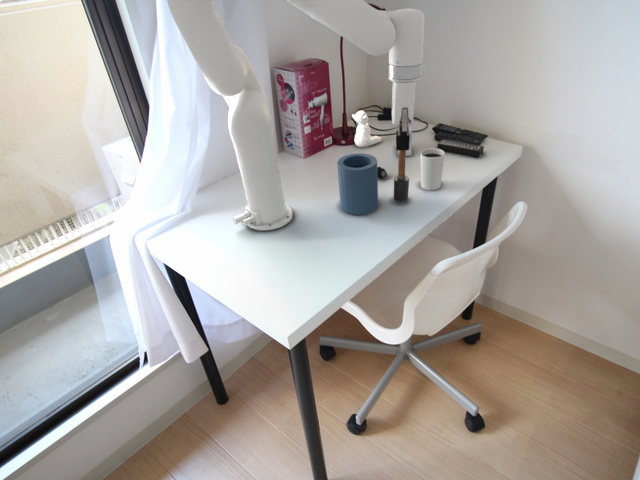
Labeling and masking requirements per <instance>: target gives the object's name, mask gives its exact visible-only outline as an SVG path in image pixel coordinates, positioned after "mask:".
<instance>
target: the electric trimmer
mask: <svg viewBox="0 0 640 480" xmlns="http://www.w3.org/2000/svg"><path fill="white" fill-rule="evenodd" d="M387 176H388V172H387V171H386V169H385V168H383V167H381V166H377V178H378V180H385V179H386V178H387Z"/></svg>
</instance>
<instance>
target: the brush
mask: <svg viewBox="0 0 640 480" xmlns="http://www.w3.org/2000/svg"><path fill="white" fill-rule="evenodd" d="M401 127H402V126H400V128H401ZM406 157H407V156H406V150H400V151H399V154H398V168H397V175H396V176H394V177H393V200H394V201H395V202H399V203H400V202H401V203H403V202H407V201H408V200H409V189H410V187H409V185H410V183H409V182H410V177H409V176H407V175H406V160H407V158H406Z"/></svg>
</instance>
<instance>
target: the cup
mask: <svg viewBox="0 0 640 480" xmlns="http://www.w3.org/2000/svg"><path fill="white" fill-rule="evenodd" d="M336 164H337V165H336V166H337V178H338V190H339V203H340V204H339V205H340V209H341V211H342V212H344V213H345V214H347V215H352V216H364V215H368V214H371V213H373V212H374V211H376V210H377V209H378V207H379V188H378V187H379V186H378V185H379V183H378V181H379V178H378V177H377V167H378V159H377V158H376V157H375V156H374V155H371V154H367V153H359V152H358V153H350V154H346V155H343V156H341V157H340V158H339V159H338V160H337V162H336Z"/></svg>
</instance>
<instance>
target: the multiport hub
mask: <svg viewBox="0 0 640 480" xmlns="http://www.w3.org/2000/svg"><path fill="white" fill-rule="evenodd" d="M436 148H437V149H441V150H443V151H444V152H446V153H450V154H456V155H461V156H466V157H471V158H476V159H478V158H480V157H482V155H483V154H484V149H485V146H483V145H479V144H473V143H467V142H461V141H456V140H450V139H446V138H443V139H441V140H440V141H438V143H437V147H436Z"/></svg>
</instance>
